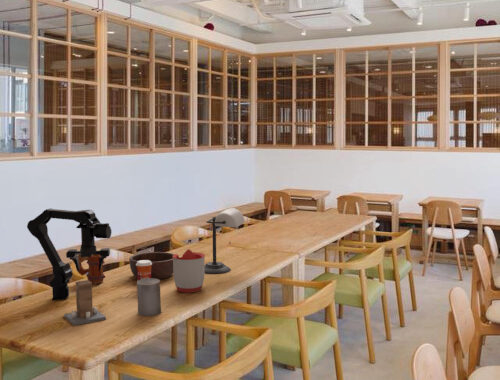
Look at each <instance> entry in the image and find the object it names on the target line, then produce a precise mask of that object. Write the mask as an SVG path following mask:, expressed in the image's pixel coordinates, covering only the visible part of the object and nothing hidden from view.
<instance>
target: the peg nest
mask: <svg viewBox="0 0 500 380" xmlns="http://www.w3.org/2000/svg"><path fill="white" fill-rule="evenodd" d="M64 318H65V319H66V320H67V321H68V323H71V325H72V326H79V325H80V326H81V325H85V324H90V323H95V322H101V321H106V319H107V317H106V316H105V315H104V314H103V313H101V312H100V311H99V310H98V307H97V306H93V316H90V312H86V317H85V318H80V317H79V316H78V315H77V310H73V311H71V312H69V313H64Z"/></svg>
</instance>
